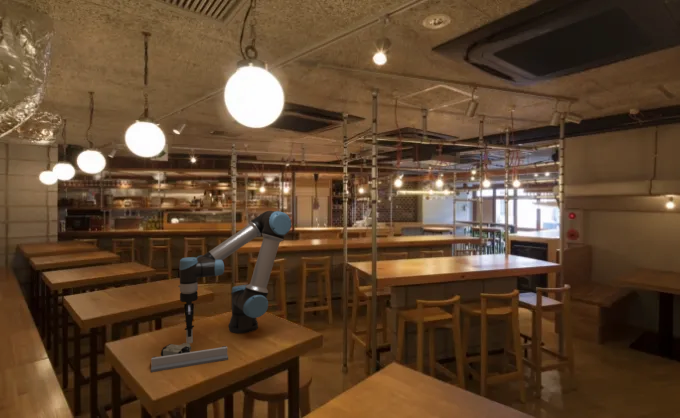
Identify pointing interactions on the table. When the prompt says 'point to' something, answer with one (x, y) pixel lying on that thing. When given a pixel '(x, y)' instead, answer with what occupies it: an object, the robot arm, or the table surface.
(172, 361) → the curved pull handle
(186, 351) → the pneumatic valve
